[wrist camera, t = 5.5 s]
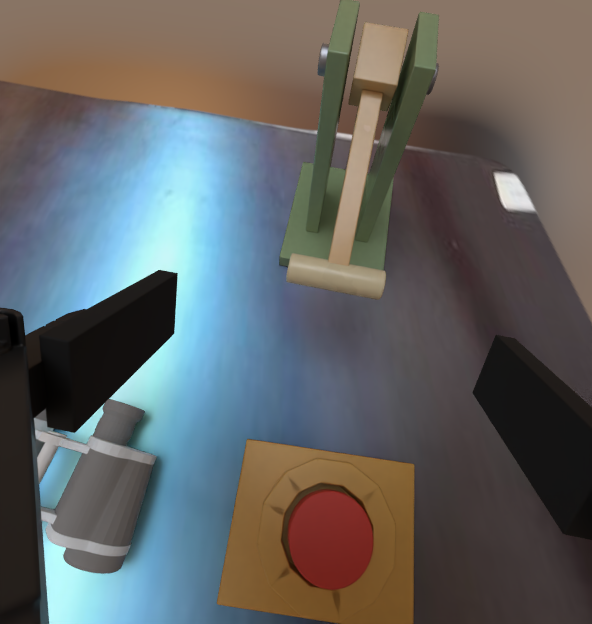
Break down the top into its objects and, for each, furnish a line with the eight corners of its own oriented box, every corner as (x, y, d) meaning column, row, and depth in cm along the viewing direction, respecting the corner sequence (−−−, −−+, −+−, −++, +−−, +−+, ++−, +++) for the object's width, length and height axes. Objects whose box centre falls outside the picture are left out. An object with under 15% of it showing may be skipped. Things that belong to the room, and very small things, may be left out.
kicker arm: (375, 300, 21) (384, 299, 18) (287, 283, 21) (284, 280, 18) (422, 66, 20) (437, 34, 18) (333, 50, 20) (336, 16, 18)
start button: (367, 495, 20) (376, 497, 18) (363, 585, 18) (371, 596, 16) (293, 483, 20) (294, 484, 18) (281, 573, 18) (282, 582, 16)
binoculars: (-62, 501, 21) (-122, 506, 18) (16, 372, 25) (-22, 357, 21) (129, 565, 21) (102, 582, 18) (184, 424, 24) (171, 416, 21)
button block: (403, 464, 24) (426, 463, 20) (400, 619, 20) (427, 651, 17) (249, 441, 24) (244, 435, 20) (221, 592, 20) (210, 617, 17)
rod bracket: (378, 284, 29) (469, 117, 15) (279, 265, 29) (282, 84, 16) (389, 188, 33) (469, -11, 19) (302, 171, 33) (320, -36, 20)
